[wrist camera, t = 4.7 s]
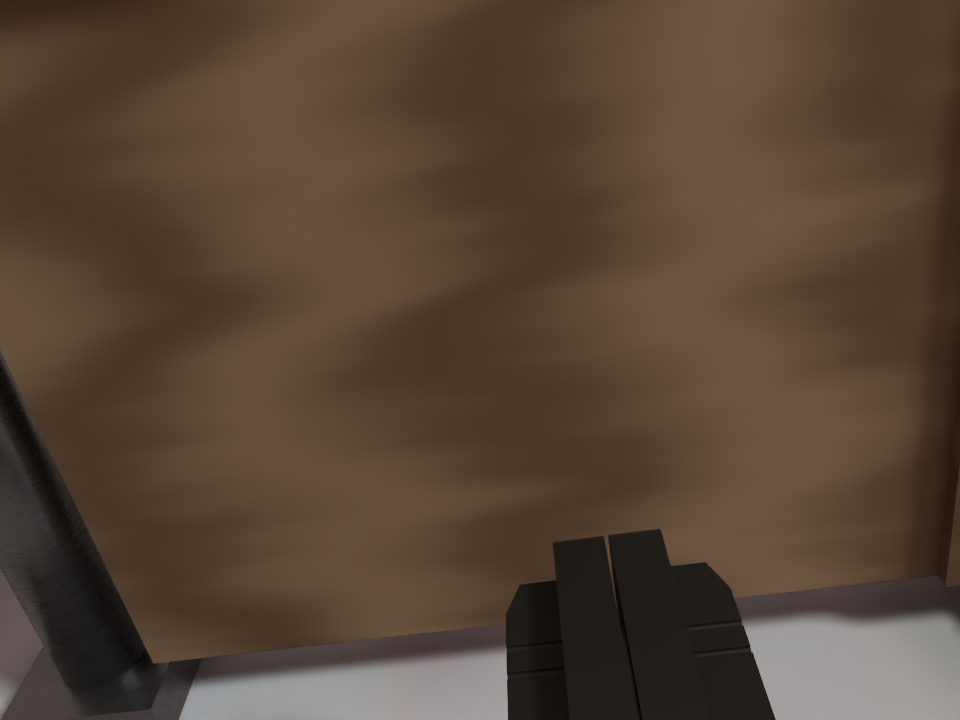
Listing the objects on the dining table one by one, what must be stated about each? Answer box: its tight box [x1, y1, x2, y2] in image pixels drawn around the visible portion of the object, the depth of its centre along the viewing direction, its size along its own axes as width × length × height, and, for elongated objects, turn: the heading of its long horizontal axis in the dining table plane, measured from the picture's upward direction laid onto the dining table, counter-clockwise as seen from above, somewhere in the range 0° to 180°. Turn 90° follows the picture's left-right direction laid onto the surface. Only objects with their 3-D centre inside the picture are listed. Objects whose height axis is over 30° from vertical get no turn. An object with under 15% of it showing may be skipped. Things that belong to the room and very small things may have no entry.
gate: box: [0, 0, 960, 664], centre depth 16 cm, size 19×2×16 cm, turn 90°
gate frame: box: [0, 351, 201, 720], centre depth 16 cm, size 26×4×19 cm, turn 90°
